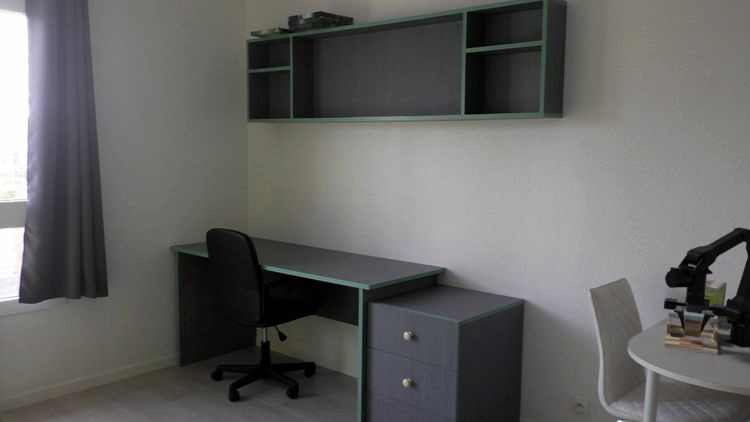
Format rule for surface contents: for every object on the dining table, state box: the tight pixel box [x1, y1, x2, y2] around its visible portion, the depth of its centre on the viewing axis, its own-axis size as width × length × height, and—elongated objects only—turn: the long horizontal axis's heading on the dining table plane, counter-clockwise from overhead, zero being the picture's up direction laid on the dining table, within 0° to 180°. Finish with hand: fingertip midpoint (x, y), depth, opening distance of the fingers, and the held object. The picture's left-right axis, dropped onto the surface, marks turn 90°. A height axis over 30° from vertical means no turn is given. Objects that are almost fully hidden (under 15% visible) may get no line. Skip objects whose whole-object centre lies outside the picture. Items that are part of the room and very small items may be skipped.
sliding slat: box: [667, 309, 719, 325], centre depth 236 cm, size 5×16×2 cm, turn 63°
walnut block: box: [683, 319, 702, 339], centre depth 219 cm, size 5×5×4 cm
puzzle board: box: [664, 317, 719, 356], centre depth 227 cm, size 26×16×5 cm, turn 153°
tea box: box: [692, 278, 727, 325], centre depth 253 cm, size 15×10×15 cm, turn 143°
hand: (692, 331), depth 219 cm, fingers closed on walnut block, 5 cm apart
